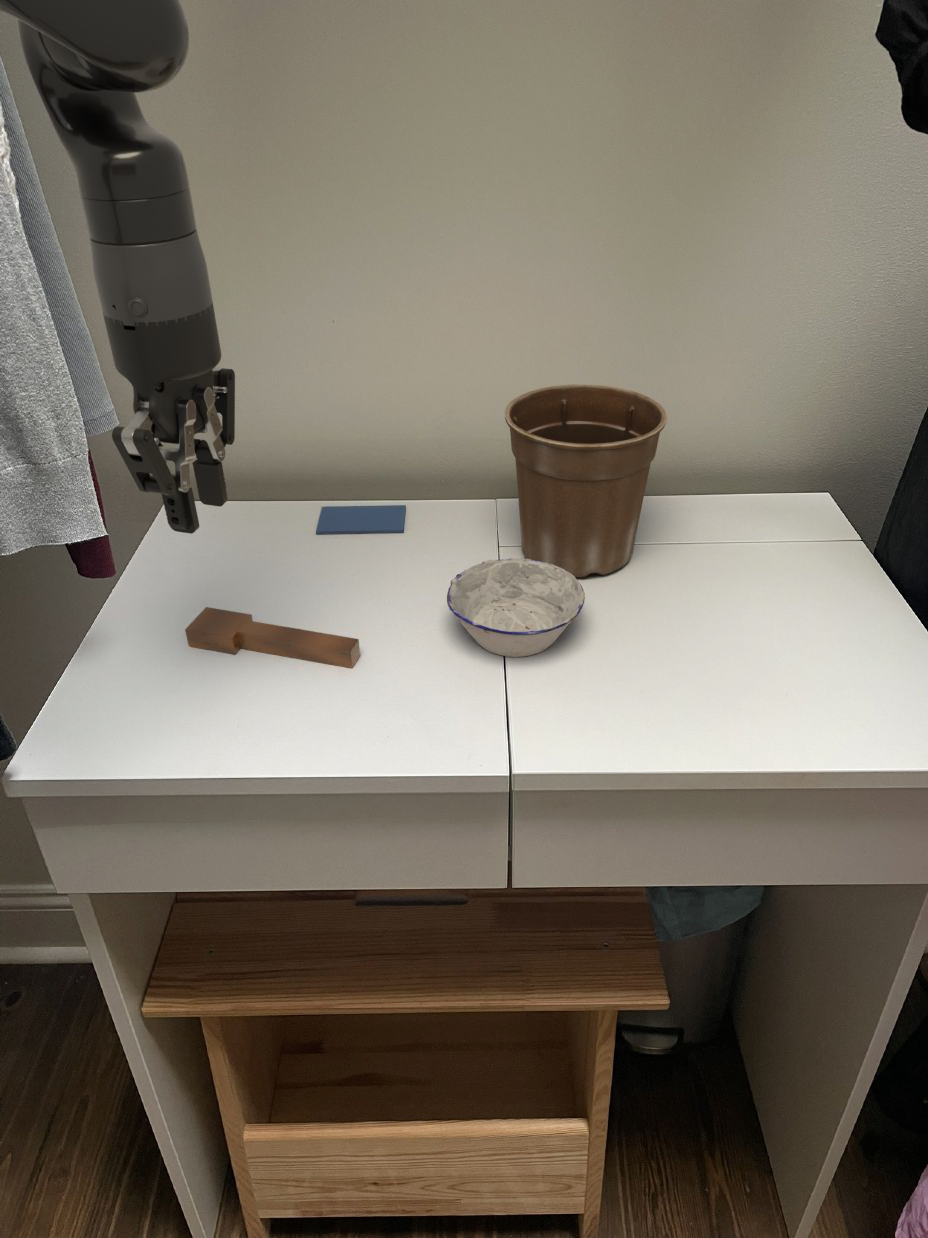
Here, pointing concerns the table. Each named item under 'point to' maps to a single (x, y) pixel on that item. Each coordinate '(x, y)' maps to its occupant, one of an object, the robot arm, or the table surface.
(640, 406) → the plant pot
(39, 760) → the table surface
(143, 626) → the table surface
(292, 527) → the table surface
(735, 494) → the table surface
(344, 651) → the wooden mallet
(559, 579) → the bowl
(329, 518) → the cloth
